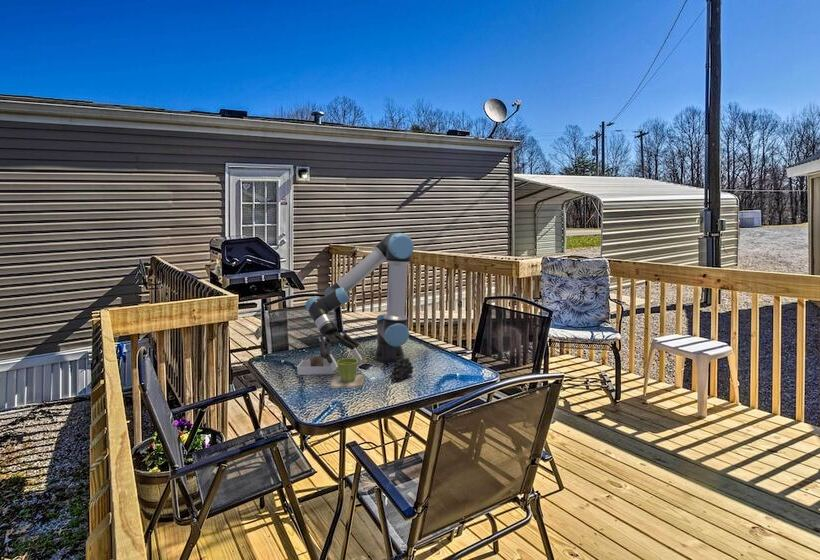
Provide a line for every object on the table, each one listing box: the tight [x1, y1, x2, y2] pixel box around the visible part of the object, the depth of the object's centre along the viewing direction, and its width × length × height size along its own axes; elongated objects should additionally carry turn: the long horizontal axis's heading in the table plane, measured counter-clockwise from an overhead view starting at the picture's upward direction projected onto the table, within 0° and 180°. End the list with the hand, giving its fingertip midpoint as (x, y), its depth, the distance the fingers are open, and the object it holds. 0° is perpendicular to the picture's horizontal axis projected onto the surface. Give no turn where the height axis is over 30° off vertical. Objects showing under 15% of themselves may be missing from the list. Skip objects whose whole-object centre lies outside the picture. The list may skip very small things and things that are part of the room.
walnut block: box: [309, 355, 324, 367], centre depth 232 cm, size 5×5×6 cm
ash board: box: [329, 374, 366, 389], centre depth 217 cm, size 14×14×1 cm
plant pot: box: [335, 357, 358, 382], centre depth 216 cm, size 9×9×9 cm
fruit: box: [389, 357, 414, 382], centre depth 221 cm, size 9×8×15 cm
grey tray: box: [297, 358, 336, 376], centre depth 232 cm, size 16×12×4 cm
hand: (348, 364), depth 215 cm, fingers open, 13 cm apart
